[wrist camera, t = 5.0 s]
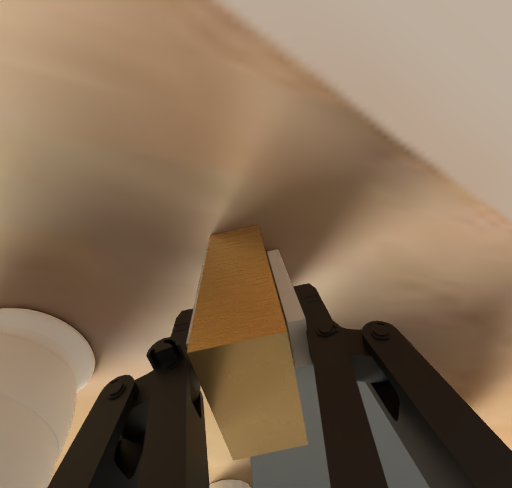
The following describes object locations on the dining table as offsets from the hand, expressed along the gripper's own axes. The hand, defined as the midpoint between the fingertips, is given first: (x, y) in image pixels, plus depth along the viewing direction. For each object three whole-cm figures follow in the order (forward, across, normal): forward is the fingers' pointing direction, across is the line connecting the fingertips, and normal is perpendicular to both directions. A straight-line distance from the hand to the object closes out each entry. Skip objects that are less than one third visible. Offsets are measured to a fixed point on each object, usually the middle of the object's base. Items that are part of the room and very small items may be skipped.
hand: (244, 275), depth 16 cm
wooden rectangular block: (0, 0, 0) cm, 0 cm away
